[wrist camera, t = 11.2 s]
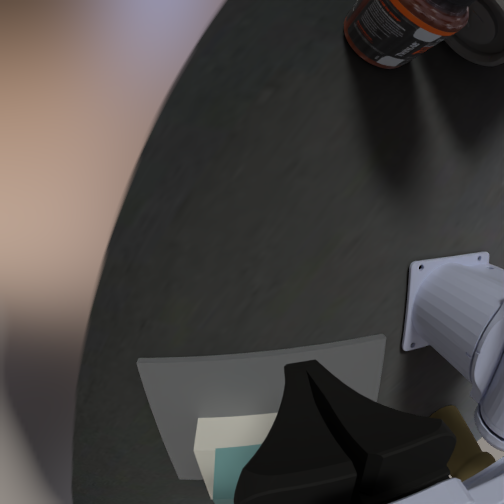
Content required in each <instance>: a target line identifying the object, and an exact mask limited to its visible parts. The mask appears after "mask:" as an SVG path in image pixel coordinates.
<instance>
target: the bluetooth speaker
mask: <svg viewBox="0 0 504 504" xmlns="http://www.w3.org/2000/svg"><path fill="white" fill-rule="evenodd" d="M468 8H469V19H468V22H467V24H466V25H465V26H464V27H463V28H462V29H461V30H460V31H458V32H456V33H455V34H453V35H452V36H450V37H448V38H447V39H444V41H445V42H446V43H447V44H448V45H449V46H450V47H451V48H452V49H453V50H454V51H455V52H456V53H457V54H459V55H460V56H461V57H463V58H465V59H466V60H468V61H470V62H472V63H475V64H478V65H482V66H489V67H491V66H498V65H500V64H502V63H504V0H476V1H475V2H473V3H472V4H471V5H470V6H468Z"/></svg>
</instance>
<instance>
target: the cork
mask: <svg viewBox="0 0 504 504" xmlns="http://www.w3.org/2000/svg"><path fill="white" fill-rule="evenodd" d="M430 418H437V419H442V420H443V421H444V422H445V424H446V425H447V426H448V427H449V428H450V430H451V431H452V432H453V434H454V435H455V436H456V441H457V442H456V445H455V448H454V451H453V453H452V455H451V457H450V459H449V461H448V463H447V467H448V468H449V470H450V475H451V476H452V478H457V479H460V480H461V482H463V481H465V480H467V479H469V478H470V477H472V476H474V475H475V474H477V473H479V472H480V471H482V470H484V469H485V468H487V467H488V466H490V465H491V464H493V463H495V462H496V461H495V459H494V457H493V456H492V455H491V454H489V453H488V452H482V451H481V449H480V447H479V445H478V443H477V441H476V440H475V438H474V436H473V434H472V433H471V431H470V429H469V427H468V426H467V424H466V422H465V421H464V419H463V417H462V416H461V414H460V412H459V411H458V409H457V408H456V407H455V406H452V405H450V406H446V407H443V408H441V409H439V410H438V411H436V412H435V413H433V414H432V415H431V416H430Z"/></svg>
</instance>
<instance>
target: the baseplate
mask: <svg viewBox="0 0 504 504" xmlns="http://www.w3.org/2000/svg"><path fill="white" fill-rule="evenodd" d="M385 344H386V337H385V336H384V335H383V334H378V335H372V336H367V337H362V338H356V339H350V340H344V341H338V342H332V343H326V344H319V345H312V346H304V347H297V348H289V349H280V350H271V351H262V352H252V353H240V354H227V355H213V356H195V357H168V358H139V359H138V361H137V367H138V370H139V373H140V376H141V380H142V383H143V386H144V389H145V392H146V395H147V398H148V401H149V404H150V407H151V410H152V413H153V415H154V418H155V421H156V424H157V426H158V429H159V432H160V434H161V437H162V439H163V442H164V444H165V447H166V449H167V452H168V454H169V456H170V459H171V461H172V463H173V466H174V468H175V470H176V473H177V475H178V477H179V479H189V480H204V479H203V476H202V474H201V471H200V468H199V465H198V462H197V459H196V456H195V454H194V443H195V436H196V429H197V422H198V418H214V417H234V416H247V415H259V414H269V413H278V410H279V407H280V404H281V400H282V397H283V392H284V386H285V375H284V366H285V365H286V364H290V363H297V362H303V361H309V360H315V359H316V360H317V361H318V362H319V363H320V364H321V365H323V366H324V367H325V368H326V369H327V370H328V371H329V372H331V373H332V374H333V375H334V376H335V377H337V378H338V379H339V380H341V381H342V382H343V383H345V384H346V385H347V386H349V387H350V388H352V389H353V390H355V391H356V392H358V393H359V394H361V395H363V396H365V397H367V398H369V399H371V400H373V401H375V402H377V398H378V392H379V386H380V380H381V374H382V367H383V359H384V352H385Z"/></svg>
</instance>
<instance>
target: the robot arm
mask: <svg viewBox="0 0 504 504" xmlns="http://www.w3.org/2000/svg"><path fill="white" fill-rule="evenodd" d="M478 257H479V258H478ZM420 265H421V269H419V266H420ZM412 343H413V344H412ZM411 344H412V345H411ZM428 345H431V346H432V347H433V348H434V349H435V350H436V351H437V352H438V353H439V354H440V355H442V356H443V357H444V358H445V359H446V360H447V361H448V362H449V363H450V364H451V365H452V366H453V367H454V368H456V369H457V370H458V371H459V372H460V373H461V374H462V375H463V376H464V377H465V378H466V379H467V380H468V381H469V382H470V383H471V384H472V390H471V392H470V396H471V397H472V398H473V399H474V400H475V401H476V402H477V403H478V406H477V407H476V410H475V414H474V420H475V424H476V426H477V429H478V431H479V432H480V434H481V435H482V437H483V438H484V439H485V440H486V441H487V442H488V443H489V444H490V445H491V446H493V447H494V448H496V449H498V450H500V451H504V269H502V268H499V267H497V266H494V265H492V264H489V253H488V252H478V253H471V254H464V255H457V256H450V257H443V258H436V259H428V260H421V261H414V262H412V263H411V264H410V267H409V280H408V294H407V306H406V315H405V324H404V333H403V340H402V349H403V350H404V351H409V350H413V349H417V348H421V347H425V346H428ZM284 375H285V386H284V392H283V397H282V400H281V404H280V407H279V410H278V413H277V416H276V418H275V421H274V423H273V425H272V427H271V429H270V431H269V433H268V435H267V437H266V438H265V440H264V441H263V443H262V444H261V446H260V447H259V449H258V450H257V452H256V453H255V454H254V456H253V457H252V458H251V459H250V460H249V462H248V463H247V464H246V465H245V466H244V467H243V468H242V471H241V474H240V476H239V479H238V482H237V485H236V489H235V493H234V504H504V456H503V457H502V458H501V459H499V460H498V461H496V462H495V463H493V464H491V465H490V466H488V467H487V468H485V469H484V470H482V471H480V472H479V473H477V474H475V475H474V476H472V477H470V478H469V479H467V480H465V481H463V482H461V480H460V479H457V478H449V476H448V475H450V470H449V468H448V467H447V463H448V461H449V459H450V457H451V455H452V453H453V451H454V448H455V445H456V442H457V441H456V436H455V435H454V434H453V432H452V431H451V430H450V428H449V427H448V426H447V425H446V424H445V422H444V421H443V420H442V419H437V418H430V417H423V416H417V415H413V414H409V413H404V412H401V411H398V410H395V409H392V408H389V407H387V406H384V405H381V404H379V403H377V402H375V401H373V400H371V399H369V398H367V397H365V396H363V395H361V394H359V393H358V392H356V391H355V390H353V389H352V388H350V387H349V386H347V385H346V384H345V383H343V382H342V381H341V380H339V379H338V378H337V377H335V376H334V375H333V374H332V373H331V372H329V371H328V370H327V369H326V368H325V367H324V366H323V365H321V364H320V363H319V362H318V361H317V360H316V359H315V360H309V361H303V362H297V363H290V364H286V365H285V366H284Z"/></svg>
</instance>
